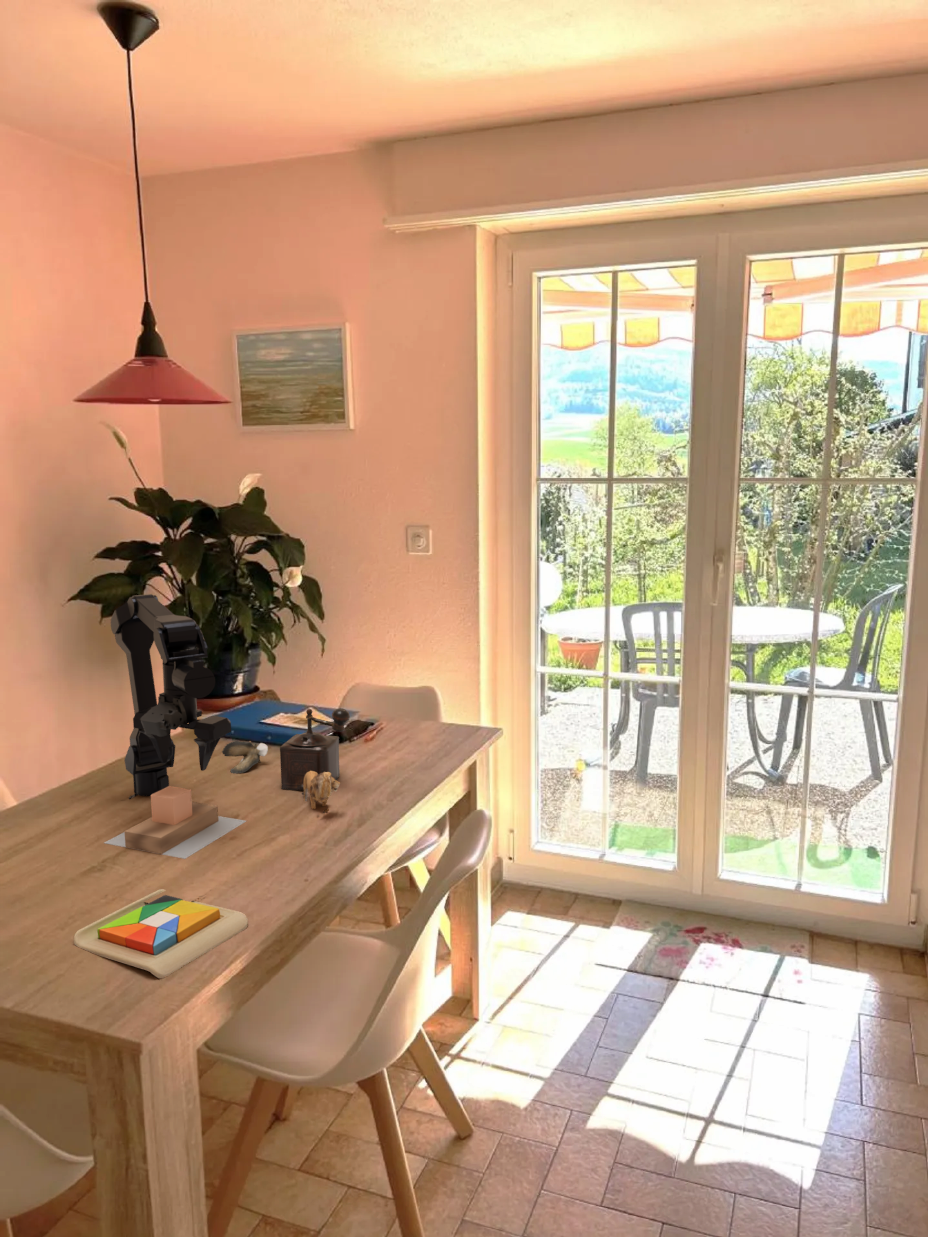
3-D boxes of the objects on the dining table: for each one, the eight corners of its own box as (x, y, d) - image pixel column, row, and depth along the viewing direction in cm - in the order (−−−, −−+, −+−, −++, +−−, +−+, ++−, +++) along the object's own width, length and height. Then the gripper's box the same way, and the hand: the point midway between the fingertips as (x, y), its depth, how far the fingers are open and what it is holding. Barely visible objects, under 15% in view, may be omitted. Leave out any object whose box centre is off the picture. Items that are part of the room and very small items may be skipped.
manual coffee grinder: (278, 790, 190) (275, 708, 187) (296, 773, 201) (293, 695, 198) (348, 794, 188) (346, 711, 185) (363, 777, 198) (361, 698, 195)
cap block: (152, 821, 163) (150, 795, 162) (170, 811, 168) (169, 786, 167) (174, 825, 161) (172, 798, 160) (192, 815, 166) (191, 789, 165)
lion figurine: (343, 816, 176) (342, 772, 175) (318, 822, 173) (317, 778, 172) (313, 794, 188) (312, 753, 187) (289, 799, 185) (288, 757, 184)
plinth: (125, 847, 159) (124, 831, 158) (184, 815, 174) (183, 800, 173) (161, 854, 156) (160, 838, 156) (218, 820, 171) (217, 806, 170)
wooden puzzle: (166, 897, 144) (164, 877, 143) (252, 928, 134) (251, 906, 134) (70, 947, 129) (68, 924, 129) (159, 985, 120) (157, 961, 119)
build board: (104, 849, 161) (103, 842, 161) (170, 813, 177) (170, 807, 177) (185, 865, 154) (185, 858, 154) (247, 826, 171) (246, 820, 171)
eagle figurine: (241, 754, 211) (215, 758, 203) (256, 730, 209) (230, 734, 201) (261, 775, 208) (235, 780, 200) (276, 752, 207) (251, 756, 198)
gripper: (108, 691, 162) (113, 773, 165) (191, 703, 155) (195, 788, 158) (152, 677, 172) (156, 754, 175) (231, 688, 165) (234, 768, 168)
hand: (183, 766), depth 169 cm, fingers open, 9 cm apart
